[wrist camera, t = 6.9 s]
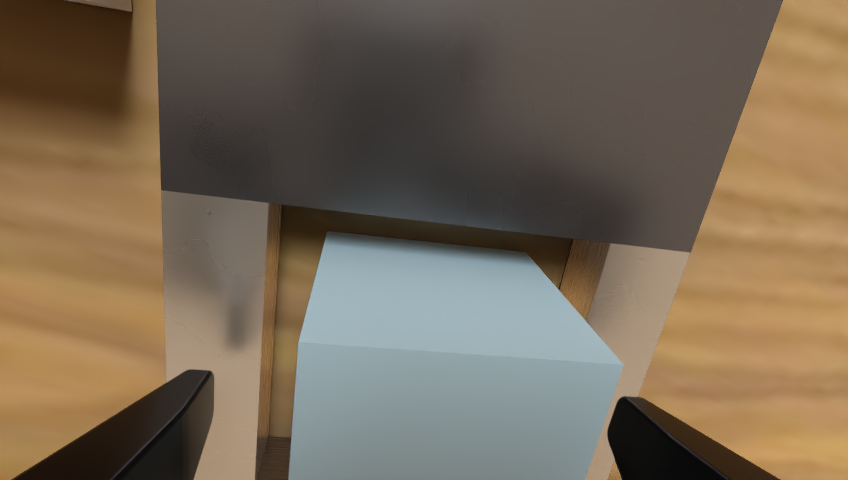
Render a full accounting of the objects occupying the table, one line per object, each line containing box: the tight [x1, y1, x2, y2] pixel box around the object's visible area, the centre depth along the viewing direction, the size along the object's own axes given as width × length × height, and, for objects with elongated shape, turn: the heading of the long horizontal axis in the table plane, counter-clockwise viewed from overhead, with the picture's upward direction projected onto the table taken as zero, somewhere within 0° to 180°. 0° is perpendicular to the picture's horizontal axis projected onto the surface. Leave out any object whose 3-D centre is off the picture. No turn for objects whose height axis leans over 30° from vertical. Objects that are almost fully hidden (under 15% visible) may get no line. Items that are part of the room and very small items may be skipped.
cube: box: [288, 231, 624, 480], centre depth 9 cm, size 4×4×4 cm
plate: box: [156, 0, 783, 480], centre depth 9 cm, size 10×20×2 cm, turn 171°
